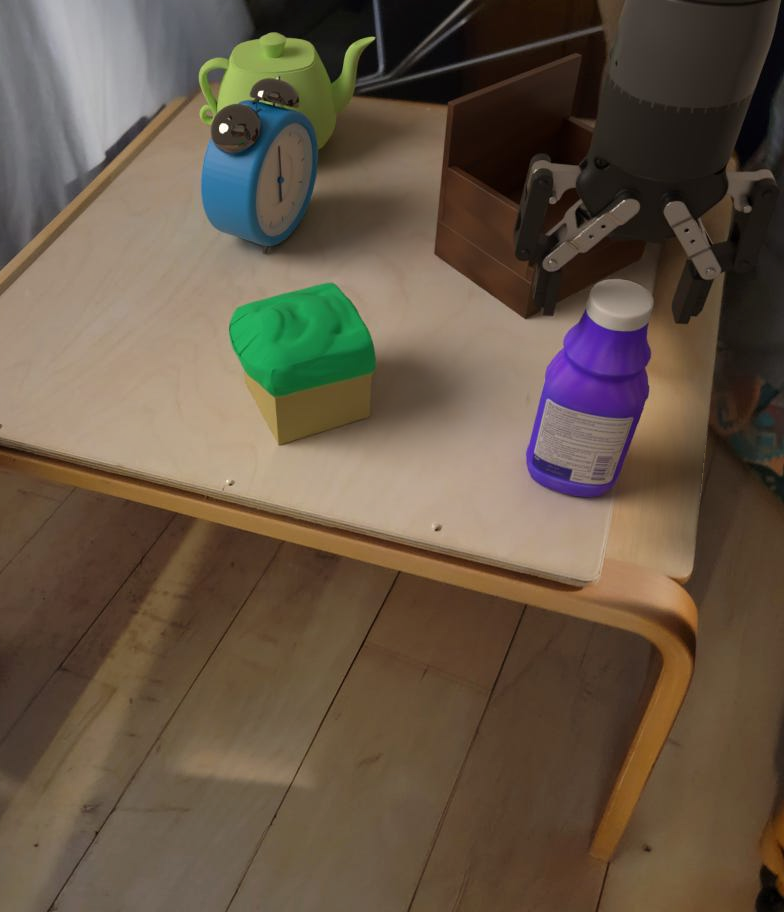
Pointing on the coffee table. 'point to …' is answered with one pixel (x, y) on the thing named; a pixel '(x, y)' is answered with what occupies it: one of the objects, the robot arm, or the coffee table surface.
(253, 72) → the teapot
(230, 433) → the coffee table surface
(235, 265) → the coffee table surface
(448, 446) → the coffee table surface
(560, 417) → the bottle
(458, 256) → the box
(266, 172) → the alarm clock
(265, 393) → the cake
